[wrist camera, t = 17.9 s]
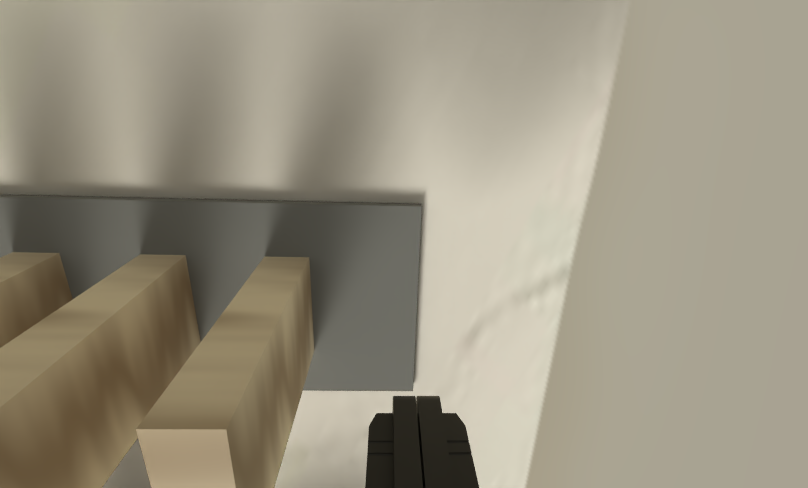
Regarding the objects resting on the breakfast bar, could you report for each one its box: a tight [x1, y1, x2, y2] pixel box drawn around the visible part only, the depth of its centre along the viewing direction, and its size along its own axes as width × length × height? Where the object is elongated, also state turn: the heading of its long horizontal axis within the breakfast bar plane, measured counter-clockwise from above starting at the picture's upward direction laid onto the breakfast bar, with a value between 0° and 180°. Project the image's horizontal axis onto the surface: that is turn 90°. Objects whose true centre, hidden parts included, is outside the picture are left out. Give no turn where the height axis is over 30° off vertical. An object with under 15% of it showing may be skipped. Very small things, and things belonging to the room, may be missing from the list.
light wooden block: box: [0, 254, 201, 488], centre depth 15 cm, size 5×2×10 cm, turn 178°
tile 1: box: [136, 257, 314, 488], centre depth 15 cm, size 5×2×10 cm, turn 178°
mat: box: [0, 195, 422, 391], centre depth 19 cm, size 10×33×1 cm, turn 88°
